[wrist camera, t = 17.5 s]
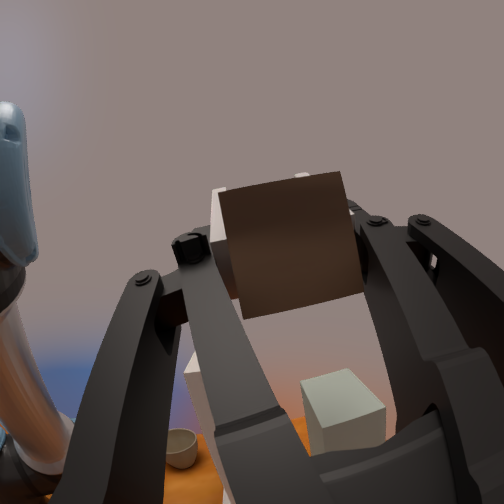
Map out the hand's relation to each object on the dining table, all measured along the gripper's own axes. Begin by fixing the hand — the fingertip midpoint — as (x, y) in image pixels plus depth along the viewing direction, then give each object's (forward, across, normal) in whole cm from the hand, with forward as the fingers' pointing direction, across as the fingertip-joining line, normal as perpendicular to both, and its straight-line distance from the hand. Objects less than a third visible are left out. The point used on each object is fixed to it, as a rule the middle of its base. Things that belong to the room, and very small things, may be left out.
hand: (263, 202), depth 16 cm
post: (-8, +6, -48) cm, 49 cm away
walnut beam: (+1, 0, -6) cm, 6 cm away
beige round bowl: (+6, -25, -56) cm, 62 cm away
